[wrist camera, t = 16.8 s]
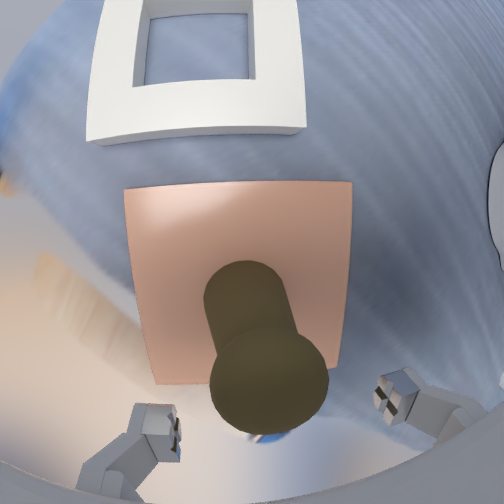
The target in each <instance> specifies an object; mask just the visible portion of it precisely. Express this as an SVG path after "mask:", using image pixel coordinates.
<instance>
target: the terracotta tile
mask: <svg viewBox="0 0 504 504" xmlns="http://www.w3.org/2000/svg"><path fill="white" fill-rule="evenodd" d="M124 202H125V215H126V227H127V236H128V245H129V253H130V261H131V268H132V275H133V281H134V288H135V293H136V299H137V304H138V310H139V315H140V320H141V325H142V330H143V334H144V339H145V343H146V347H147V351H148V356H149V360H150V364H151V367H152V371H153V375H154V379H155V382H156V385H176V384H208V383H210V375H211V371H212V368H213V364H214V362H215V359H216V357H217V353H216V349H215V346H214V342H213V339H212V335H211V332H210V328H209V324H208V321H207V317H206V313H205V309H204V300H203V296H204V292H205V288H206V285H207V283H208V282H209V280H210V279H211V277H212V275H213V274H214V273H216V272H217V271H218V270H219V269H221V268H222V267H223V266H225V265H228V264H230V263H233V262H235V261H244V260H252V261H256V262H260V263H264V264H265V265H267V266H268V267H270V268H272V269H273V270H274V271H275V272H276V273H277V274H278V276H279V277H280V278H281V279H282V282H283V285H284V288H285V291H286V294H287V297H288V301H289V304H290V307H291V311H292V314H293V317H294V321H295V324H296V328H297V331H298V334H300V335H302V336H304V337H306V338H307V339H308V340H310V341H311V342H312V343H313V344H314V346H315V347H316V348H317V349H318V350H319V351H320V353H321V354H322V356H323V358H324V360H325V363H326V367H327V369H331V368H336V367H337V363H338V357H339V350H340V344H341V337H342V330H343V322H344V314H345V305H346V296H347V286H348V274H349V261H350V246H351V225H352V182H337V181H239V182H214V183H196V184H181V185H168V186H156V187H145V188H135V189H126V190H124Z"/></svg>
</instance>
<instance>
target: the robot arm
mask: <svg viewBox="0 0 504 504" xmlns="http://www.w3.org/2000/svg"><path fill="white" fill-rule="evenodd" d="M489 222H490V229H491V234H492V238H493V241H494V244H495V246H496V248H497V250H498V251H499V254H500V259H501V267H502V270H503V271H504V143H503V144H502V145H501V147H500V148H499V149H498V151H497V153H496V155H495V158H494V161H493V165H492V169H491V175H490V183H489ZM377 384H378V385H379V386H378V388H377V389H376V390H375V392H374V395H373V400H374V404H375V407H376V408H377V410H378V411H380V412H383V416H382V417H383V419H384V420H385V422H386V423H387V425H388V426H389V427H391V426H394V425H396V424H399V423H402V422H405V421H406V423H408V424H410V425H412V426H414V427H415V428H417V429H419V430H421V431H423V432H425V433H427V434H429V435H431V436H433V437H435V438H437V439H436V441H435V442H434V444H433V445H432V448H431V449H430V450H428V451H426V452H424V453H422V454H420V455H418V456H416V457H414V458H412V459H410V460H408V461H406V462H403V463H401V464H399V465H397V466H394V467H392V468H389V469H387V470H385V471H382V472H380V473H377V474H374V475H372V476H369V477H366V478H364V479H360V480H357V481H354V482H351V483H348V484H345V485H342V486H338V487H335V488H331V489H327V490H324V491H320V492H316V493H311V494H307V495H302V496H297V497H292V498H287V499H281V500H275V501H268V502H260V503H252V504H504V401H503V402H502V403H500V404H499V405H498V406H497V407H495V408H494V409H493V410H491V411H490V412H489V413H488V412H487V411H486V410H485V409H484V408H483V407H482V406H481V405H480V404H479V403H478V402H477V401H476V400H475V399H474V398H471V397H468V396H464V395H461V394H458V393H455V392H451V391H448V390H445V389H442V388H439V387H435V386H429V385H428V384H427V383H426V382H425V381H424V380H423V379H422V378H421V377H420V375H419V374H418V373H417V372H416V371H415V370H414V369H413V368H411V367H407V368H404V369H401V370H398V371H395V372H391V373H388V374H385V375H382V376H380V377H379V378H378V382H377ZM176 413H177V411H176V407H175V405H172V404H150V403H148V404H146V403H135V405H134V406H133V410H132V414H131V418H130V421H129V425H128V429H127V433H122V434H121V435H119V436H118V437H117V438H116V439H114V440H113V441H112V442H111V443H109V444H108V445H107V446H106V447H104V448H103V449H102V450H101V451H99V452H98V453H97V454H95V455H94V456H93V457H92V458H90V459H89V460H87V461H86V462H85V463H83V465H82V468H81V472H80V475H79V479H78V482H77V485H76V489H74V488H71V487H67V486H64V485H61V484H58V483H55V482H52V481H49V480H46V479H43V478H41V477H38V476H36V475H33V474H30V473H28V472H26V471H24V470H21V469H19V468H16V467H14V466H12V465H10V464H8V463H6V462H4V461H0V504H152V503H145V502H144V501H143V499H142V498H141V497H140V496H139V495H138V493H137V492H136V491H135V490H136V489H137V487H138V486H139V485H140V484H141V483H142V481H143V480H144V479H145V478H146V477H147V475H148V474H149V473H150V472H151V471H152V470H153V469H154V468H155V466H156V465H157V464H158V462H180V451H181V449H180V446H179V442H180V441H181V425H180V421H179V418H177V417H176Z"/></svg>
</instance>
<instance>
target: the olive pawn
mask: <svg viewBox="0 0 504 504" xmlns="http://www.w3.org/2000/svg"><path fill="white" fill-rule="evenodd" d="M203 300H204V309H205V313H206V317H207V321H208V324H209V328H210V332H211V335H212V339H213V342H214V346H215V349H216V353H217V357H216V359H215V362H214V364H213V368H212V371H211V375H210V392H211V398H212V401H213V404H214V406H215V408H216V410H217V411H218V412H219V414H220V415H221V417H222V418H223V419H224V420H225V421H226V422H228V423H229V424H230V425H232V426H233V427H235V428H236V429H238V430H240V431H243V432H247V433H250V434H259V435H270V434H277V433H282V432H285V431H288V430H291V429H294V428H296V427H298V426H300V425H301V424H303V423H304V422H306V421H308V420H309V419H310V418H311V417H312V416H313V415H314V414H315V413H316V412H317V411H319V409H320V407H321V406H322V404H323V402H324V400H325V398H326V394H327V390H328V384H329V375H328V370H327V367H326V363H325V360H324V358H323V356H322V354H321V353H320V351H319V350H318V349H317V348H316V347H315V346H314V344H313V343H312V342H311V341H310V340H308V339H307V338H306V337H304V336H302V335H300V334H298V331H297V328H296V324H295V321H294V317H293V314H292V311H291V307H290V304H289V301H288V297H287V294H286V291H285V288H284V285H283V282H282V279H281V278H280V277H279V276H278V274H277V273H276V272H275V271H274V270H273V269H272V268H270V267H268V266H267V265H265V264H264V263H260V262H256V261H252V260H244V261H235V262H233V263H230V264H228V265H225V266H223V267H222V268H221V269H219V270H218V271H217V272H216V273H214V274H213V275H212V277H211V279H210V280H209V282H208V283H207V285H206V288H205V292H204V296H203Z"/></svg>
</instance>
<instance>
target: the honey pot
mask: <svg viewBox="0 0 504 504" xmlns="http://www.w3.org/2000/svg"><path fill="white" fill-rule="evenodd" d="M499 386H500V387H501V388H502V389H503V390H504V372H503V374H502V376H501V379H500V383H499Z"/></svg>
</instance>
